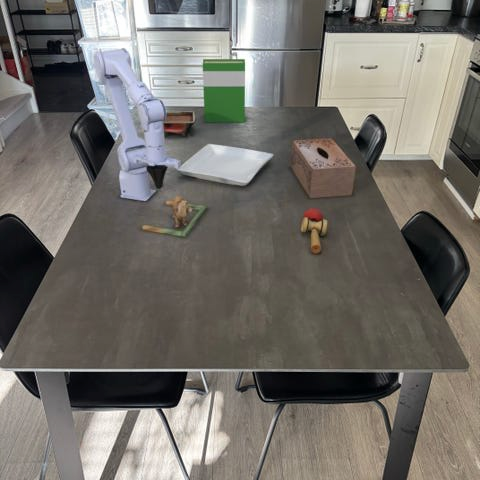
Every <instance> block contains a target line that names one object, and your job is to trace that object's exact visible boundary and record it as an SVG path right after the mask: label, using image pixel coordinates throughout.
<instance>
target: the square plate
mask: <svg viewBox="0 0 480 480" xmlns="http://www.w3.org/2000/svg"><path fill="white" fill-rule="evenodd" d="M273 157H274V154H273V153H271V152H270V153H269V152H264V151H259V150H255V149H248V148H242V147H236V146H231V145H230V146H229V145H220V144H213V143H207V144H206V145H204V146H203V147H202V148H200V149H199V150H198V151H197V152H195V153H194V154H193V155H191V157H189V158H188V159H187V160H186V161H185V162H183V164H181V167H180V168H179V169H176V170H177V172H179V173H180V174H182V175H184V176H188V177H192V178H196V179H199V180H204V181H210V182H216V183H222V184H227V185H232V186H240V187H244V186H247V185H248V184H249V183H250V182H251V181H252V180H253V179H254V177H255V176H256V175H257V174H258V173H259V172H260V170H261V169H263V167H265V166H266V165H267V164H268V163H269V162H270V161H271V159H272V158H273Z"/></svg>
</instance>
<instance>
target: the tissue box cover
mask: <svg viewBox="0 0 480 480" xmlns="http://www.w3.org/2000/svg"><path fill="white" fill-rule="evenodd" d="M290 161H291V162H290V169H291V170H292V172H293V173H294V175H295V176H296V178H297V180H298V181H299V183H300V185H301V186H302V188H303V190H304V191H305V192H306V194H307V195H308V197H309V199H318V198H331V197H344V196H345V197H347V196H352V195H353V189H354V183H355V182H354V181H355V176H356V168H357V166H356V165H355V163H354V162H352V160H351V159H350V158H349V157H348V155H347V154H346V153H345V152H344V151H343V150H342V148H340V146H339V145H338V144H337V142H336V141H334V139H333V138H332V137H329V138H312V139H297V140H292V146H291V160H290Z"/></svg>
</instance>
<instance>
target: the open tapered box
mask: <svg viewBox="0 0 480 480" xmlns="http://www.w3.org/2000/svg"><path fill="white" fill-rule="evenodd" d="M195 113H196V112H195V111H192V110H191V111H189V110H188V111H187V110H186V111H184V110H183V111H166V119H165V120H163V125H164V135H166V134H167V133H171V134H174V135H182V136H184V137H186V138H187V137H188V135H189V132H190V131H191V129H192V127H193V125H194V124H195V123H196V121H197V119H196V118H197V117H196V116H197V115H196V114H195Z"/></svg>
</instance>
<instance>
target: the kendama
mask: <svg viewBox="0 0 480 480" xmlns="http://www.w3.org/2000/svg"><path fill="white" fill-rule="evenodd" d="M300 228H301V229H300V231H301V233H304V234H306V232H310V231H311V233H310V251H311V253H313V254H319V253H320V252H321V251H322V245H321V241H320V236H321V237H324V236H325V235H326V233H327V230H328V229H327V228H328V220H327V219H324V216H323V213H322V212H321V210H319V209H317V208H309V209H307V210H305V212H304V213H303V216H302V223H301V227H300Z"/></svg>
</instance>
